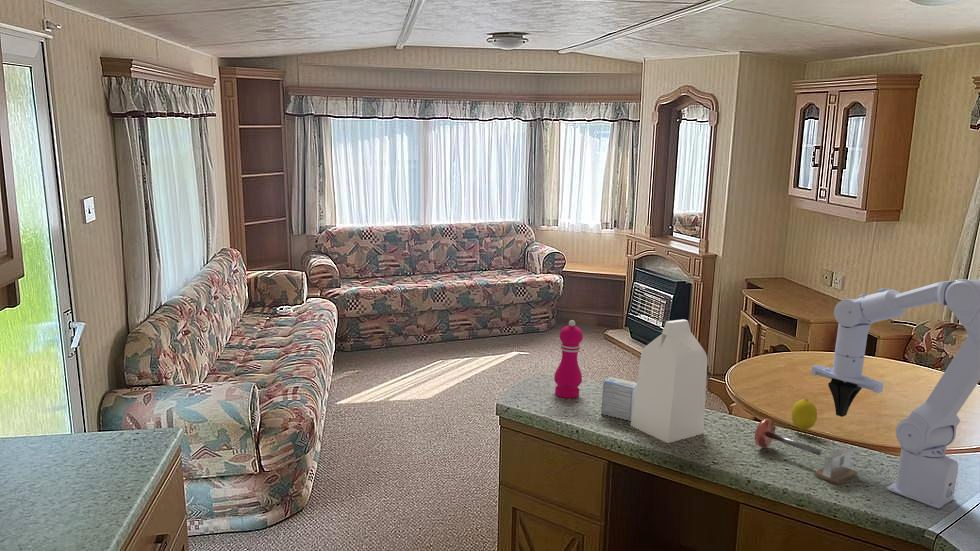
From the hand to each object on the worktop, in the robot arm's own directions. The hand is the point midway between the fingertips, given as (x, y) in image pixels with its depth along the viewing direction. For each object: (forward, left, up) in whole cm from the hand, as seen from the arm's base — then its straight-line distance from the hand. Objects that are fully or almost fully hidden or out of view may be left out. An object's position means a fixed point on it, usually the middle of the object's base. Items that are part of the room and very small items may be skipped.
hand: (841, 415), depth 157 cm
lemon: (+12, -8, -10) cm, 17 cm away
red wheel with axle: (+6, +10, -9) cm, 15 cm away
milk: (+30, +20, -10) cm, 37 cm away
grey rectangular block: (+42, +23, -10) cm, 49 cm away
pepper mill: (+60, +23, -10) cm, 65 cm away
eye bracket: (-5, +10, -9) cm, 15 cm away
